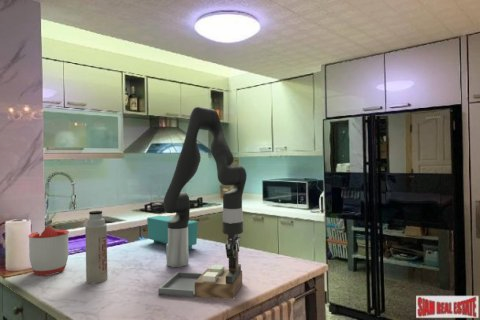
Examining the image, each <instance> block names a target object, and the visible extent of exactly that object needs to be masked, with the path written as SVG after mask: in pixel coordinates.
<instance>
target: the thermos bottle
mask: <svg viewBox="0 0 480 320" xmlns="http://www.w3.org/2000/svg"><path fill="white" fill-rule="evenodd" d="M88 215H89V216H88V218H89V219H87V220H86V223H87V224H86V225H85V228H84V229H85V233H84V234H85V272H86V273H85V279H86V281H85V282H86V283H88V284H101V283H104V282H106V281H107V280H108V277H109V276H108V244H107V243H108V232H107V231H108V230H107V226H108V225H107V224H106V221H105V220H106V219H105V218H103V211H102V210H92V211H91V210H90V211H89V212H88Z"/></svg>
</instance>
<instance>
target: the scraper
mask: <svg viewBox="0 0 480 320" xmlns="http://www.w3.org/2000/svg"><path fill="white" fill-rule="evenodd" d="M230 254H231V253H230ZM231 255H232V254H231ZM235 256H236V257H235V269H230V268H229V267H228V270H229V272H228V274H227V275H226V283H228V284H233V282H234V281H235V279H236V278H237V276H238V274H239V273H240V271H241V270H242V264H240V263H239V252H238V250H237V251H236V252H235Z"/></svg>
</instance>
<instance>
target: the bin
mask: <svg viewBox="0 0 480 320" xmlns="http://www.w3.org/2000/svg"><path fill="white" fill-rule="evenodd" d="M203 273H204V272H201V273H200V272H186V271H185V272H184V271H177V272H176V273H174V274H173V275H172V276H171V277H170V278H169V279H167V281H165V282H164V283H162V284H161V285H160V286H159V287H158V289H157V290H158V293H157V294H158V296H162V297H163V296H164V297H177V298H189V299H190V298H191V299H193V298H194V297H196V296H195V283H194V282H195V281H196V280H197V279H198V278H199V277H200V276H201V275H202V274H203Z"/></svg>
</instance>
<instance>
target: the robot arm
mask: <svg viewBox="0 0 480 320" xmlns="http://www.w3.org/2000/svg"><path fill="white" fill-rule="evenodd" d="M200 130H203V131H210V133H211V135H212V140H211V142H210V152H211V155H212V157H213V159H214V162H215V164H216V171H217V173H216V175H217V180H218V181H219V183H220V184H221V185H222V186H232V188H231V190H229V191H226V192H224V193H223V195H222V233H223V234H225V235H227V238H226V243H225V253H226V259H228V269H229V268H230V269H235V257H236V256H235V252H236V251H237V250H238V253H239V252H240V243H241V236H240V235H241V234H243V233H244V213H243V212H244V211H243V194H244V190H245V186H246V181H247V172H246V171H247V170H246V169H245V168H244V167H243V166H242V165H232V164H233V163H234V162H235V161H234V160H235V159H234V158H235V157H234V155H233V153H232V151H231V149H230V147H229V144H228V143H227V140H226V137H225V133H224V129H223V126H222V123H221V119H220V116H219V113H218V112H217V110H215V109H214V108H208V107H204V106H195V107H194V108H193V109H192V110H191V113H190V115H189V120H188V123H187V128H186V133H185V138H184V141H183V145H182V147H181V151H180V153H179V156H178V159H177V163H176V166H175V169H174V172H173V175H172V179H171V181H170V183H169V186H168V188H167V191H166V192H165V195H164V199H163V202H162V203H163V205H162V206H163V210H164V212H166V213H168V214H175V215H174V217H172V219H171V220H170V221H168V244H167V243H166V245H165V247H166V250H165V251H166V252H165V253H166V255H165V256H166V266H169V267H171V268H181V267H182V268H183V267H186V266H187V265H189V263H190V262H189V250H188V222H189V220H190V211H191V210H190V208H191V202H190V201H191V200H190V197H189V194H188V193H187V192H185V191H182V190H183V189H184V187H186V185H187V184H188V183H189V182H190V181H191V180H192V178H193V177H194V176H195V175H196V173H197V172H198V169H199V165H200V162H201V152H200V149H199V145H198V135H199V131H200ZM230 253H231V254H232V255H231V254H230Z"/></svg>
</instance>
